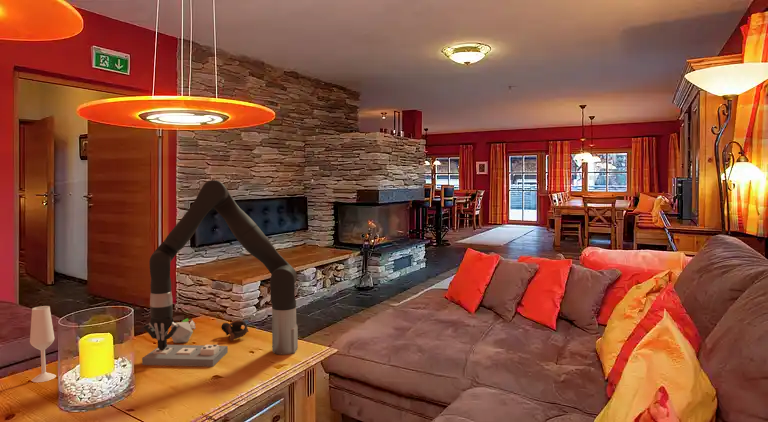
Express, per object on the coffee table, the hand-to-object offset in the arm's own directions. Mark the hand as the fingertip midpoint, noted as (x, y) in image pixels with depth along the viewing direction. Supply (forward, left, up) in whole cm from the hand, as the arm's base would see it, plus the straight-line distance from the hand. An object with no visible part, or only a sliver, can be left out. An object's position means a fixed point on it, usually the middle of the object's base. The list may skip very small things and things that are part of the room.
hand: (162, 349), depth 179 cm
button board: (-9, 0, -3) cm, 10 cm away
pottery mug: (-19, -24, -4) cm, 31 cm away
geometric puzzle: (+3, -28, -4) cm, 28 cm away
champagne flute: (+30, +20, -3) cm, 37 cm away
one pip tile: (-9, 0, -3) cm, 10 cm away
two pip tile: (0, 0, -3) cm, 3 cm away
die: (+1, -18, -4) cm, 18 cm away
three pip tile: (-18, 0, -2) cm, 18 cm away
